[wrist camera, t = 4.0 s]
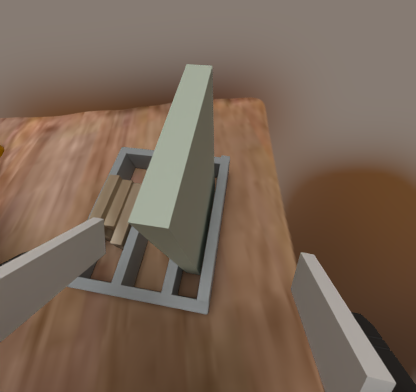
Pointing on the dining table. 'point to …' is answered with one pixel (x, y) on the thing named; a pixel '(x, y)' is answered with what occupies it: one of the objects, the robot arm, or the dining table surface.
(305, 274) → the robot arm
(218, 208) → the offcut rack
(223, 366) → the dining table surface
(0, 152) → the element tile
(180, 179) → the sage hardboard sheet
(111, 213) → the pine offcut stack
